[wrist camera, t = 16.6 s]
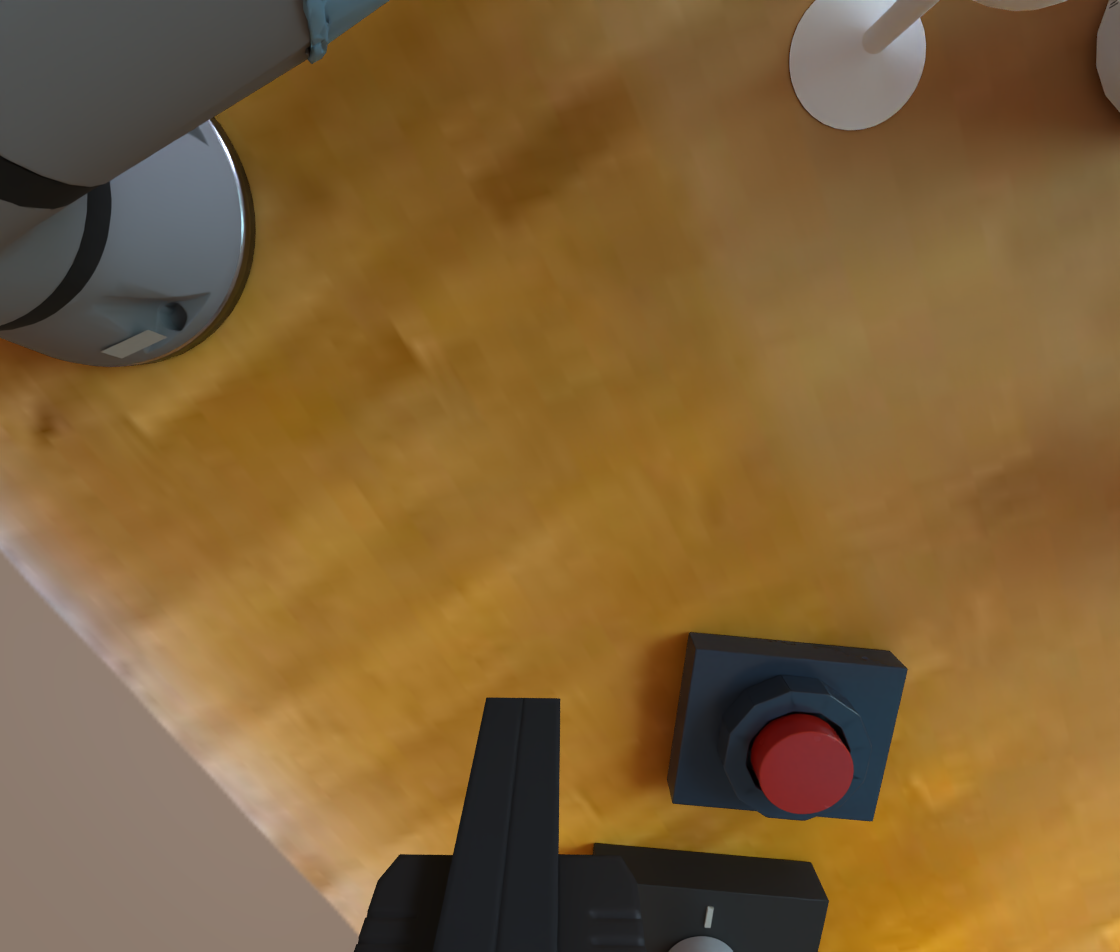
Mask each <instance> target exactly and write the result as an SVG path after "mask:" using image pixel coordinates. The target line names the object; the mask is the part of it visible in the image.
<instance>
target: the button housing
mask: <svg viewBox="0 0 1120 952" xmlns="http://www.w3.org/2000/svg"><path fill="white" fill-rule="evenodd" d="M906 674H907V668H906V667H905V666H904V665H903V664H902V663H901V662H900V661H899V660H898V659H897V658H896V657H895V656H894V655H893V654H892V653H891V652H890V651H886V650H875V649H865V648H854V647H843V646H833V645H822V644H811V643H801V642H790V641H779V640H769V639H758V638H747V637H737V636H726V635H715V634H705V633H694V632H689V636H688V643H687V649H686V656H685V663H684V669H683V676H682V683H681V689H680V696H679V703H678V709H677V716H676V722H675V729H674V736H673V742H672V749H671V756H670V762H669V769H668V776H667V782H668V786H669V791H670V795H671V799H672V803H673V804H684V805H695V806H706V807H717V808H728V809H739V810H750V811H758V812H759V813H761V814H762V815H764V816H765V817H768V818H778V819H790V820H801V821H803V820H804V821H805V820H808V819H811V818H814V817H816V816H817V817H828V818H839V819H850V820H861V821H873V818H874V814H875V809H876V805H877V800H878V796H879V792H880V787H881V783H882V779H883V774H884V770H885V766H886V761H887V757H888V753H889V748H890V744H891V740H892V735H893V731H894V727H895V722H896V718H897V714H898V709H899V705H900V701H901V696H902V692H903V687H904V683H905V679H906ZM789 714H809V715H812V716H816V717H818V718H820V719H822V720H824V721H826V722H827V723H828V724H829V725H830V726H831V727H832V728H833V729H834V730H835V732H836V733H837V734H838V736H839V737H840V739H841V740H842V742H843V743H844V745H845V746H846V748H847V749H848V751H849V753H850V755H851V757H852V760H853V770H854V773H853V779H852V782H851V785H850V787H849V789H848V790H847V792H846V793H845V795H844V796H843V797H842V798H841V799H840V800H839V801H838V802H837V803H835V804H834V805H833V806H831V807H829V808H827V809H825V810H823V811H820V812H816V813H811V814H795V813H790V812H787V811H784V810H782V809H780V808H778V807H777V806H775V805H774V804H773V803H771V802H770V801H769V800H768V799H767V797H766V796H765V795H764V793H763V791H762V789H761V787H760V784H759V782H758V780H757V777H756V775H755V773H754V770H753V767H752V764H751V749H752V746H753V743H754V740H755V738H756V737H757V735H758V734H759V732H760V731H761V730H762V729H763V728H764V727H765V726H766V725H767V724H769V723H770V722H772V721H773V720H775V719H777V718H779V717H782V716H785V715H789Z"/></svg>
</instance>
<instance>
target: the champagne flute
mask: <svg viewBox="0 0 1120 952" xmlns="http://www.w3.org/2000/svg"><path fill="white" fill-rule="evenodd" d="M938 1H940V0H815V1H814V2H813V4H812V5H811V6H810V7H809V8H808V9H807V11H806V12H805V14H804V15H803V17H802V19H801V20H800V22H799V24H798V26H797V28H796V31H795V33H794V36H793V39H792V44H791V49H790V62H789V69H790V75H791V81H792V84H793V87H794V90H795V93H796V95H797V97H798V99H799V100H800V102H801V103H802V105H803V107H804V108H805V109H806V110H807V111H808V112H809V113H810V114H811V115H812V116H813V117H814V118H816V119H817V120H819V121H820V122H822V123H823V124H825V125H828V126H831V127H833V128H836V129H842V130H862V129H865V128H869V127H873V126H875V125H877V124H879V123H882V122H884V121H886V120H887V119H889V118H890V117H891V116H893V115H894V114H895V113H896V112H898V111H899V110H900V109H901V108H902V106H903V105H904V104H905V103H906V102H907V101H908V100H909V98H910V97H911V95H912V94H913V92H914V90H915V89H916V87H917V85H918V82H919V80H920V77H921V75H922V71H923V67H924V63H925V56H926V40H925V32H924V28H923V25H922V22H921V19H920V17H921V16H923V15H924V14H925V13H926V12H927V11H928V10H929V9H931V8H932V7H933V6H934V5H935V4H936V3H937V2H938ZM972 1H975V2H977V3H980V4H982V5H984V6H987V7H992V8H998V9H1004V10H1010V11H1028V10H1038V9H1041V8H1045V7H1049V6H1052V5H1056V4H1059V3H1062V2H1065V1H1067V0H972Z"/></svg>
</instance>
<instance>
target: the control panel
mask: <svg viewBox="0 0 1120 952" xmlns="http://www.w3.org/2000/svg"><path fill="white" fill-rule="evenodd" d="M593 855H621V857H622V858H623V860H624V862H625V863H626V865H627V866H628V868H629V870H630V871H631V873H632V874H633V876H634V878H635V879H636V881H637V885H638V893H639V900H640V908H641V919H642V923H643V931H644V939H645V946H646V952H669V950H670V949H671V948H672V947H673V946H674V945H676V944H677V943H679V942H680V941H682V940H685V939H687V938H691V937H697V936H706V937H712V938H715V939H718V940H720V941H722V942H724V943H725V944H727V945H728V946H729V947H730V948H731V949H732V950H733V952H818V948H819V944H820V939H821V935H822V930H823V926H824V921H825V917H826V912H827V907H828V903H829V900H828V898H827V896H826V894H825V892H824V889H823V887H822V885H821V883H820V881H819V879H818V876H817V874H816V872H815V870H814V868H813V866H812V863H811V862H801V861H790V860H778V859H767V858H756V857H745V856H733V855H722V854H711V853H700V852H689V851H677V850H666V849H655V848H644V847H633V846H621V845H610V844H599V843H594V847H593Z"/></svg>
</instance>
